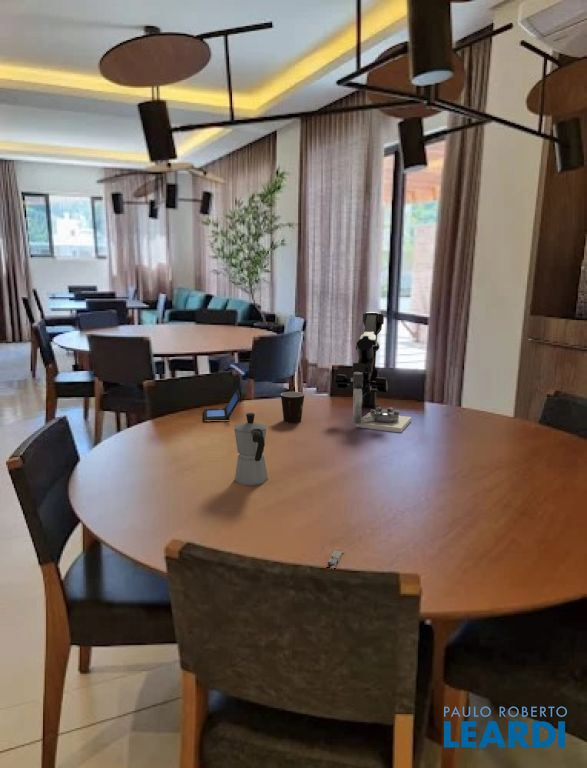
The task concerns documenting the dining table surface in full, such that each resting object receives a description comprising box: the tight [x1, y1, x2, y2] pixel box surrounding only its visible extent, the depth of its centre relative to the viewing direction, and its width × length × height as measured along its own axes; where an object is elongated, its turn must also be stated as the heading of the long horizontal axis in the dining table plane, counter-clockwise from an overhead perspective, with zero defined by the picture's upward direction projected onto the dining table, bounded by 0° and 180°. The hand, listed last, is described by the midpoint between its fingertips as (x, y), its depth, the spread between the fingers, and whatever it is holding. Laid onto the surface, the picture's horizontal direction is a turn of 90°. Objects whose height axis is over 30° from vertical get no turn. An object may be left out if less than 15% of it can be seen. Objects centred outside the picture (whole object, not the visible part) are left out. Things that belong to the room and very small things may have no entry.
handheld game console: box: [203, 388, 241, 421], centre depth 203 cm, size 16×13×9 cm
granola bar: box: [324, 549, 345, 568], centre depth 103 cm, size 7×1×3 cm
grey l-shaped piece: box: [352, 371, 400, 424], centre depth 191 cm, size 10×19×18 cm, turn 113°
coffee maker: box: [233, 412, 269, 487], centre depth 139 cm, size 15×9×18 cm, turn 23°
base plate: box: [355, 412, 412, 433], centre depth 195 cm, size 16×16×2 cm
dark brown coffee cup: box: [280, 391, 305, 424], centre depth 196 cm, size 12×9×10 cm
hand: (356, 403), depth 189 cm, fingers closed
